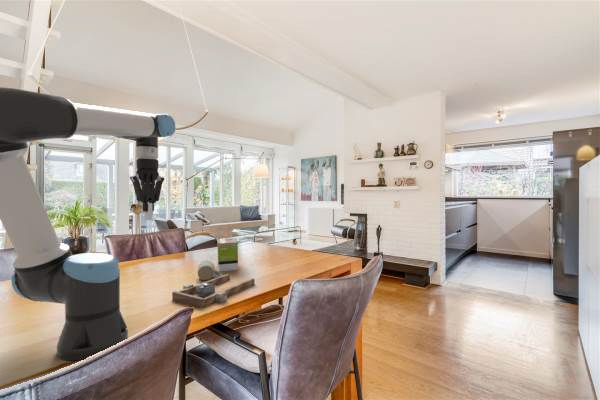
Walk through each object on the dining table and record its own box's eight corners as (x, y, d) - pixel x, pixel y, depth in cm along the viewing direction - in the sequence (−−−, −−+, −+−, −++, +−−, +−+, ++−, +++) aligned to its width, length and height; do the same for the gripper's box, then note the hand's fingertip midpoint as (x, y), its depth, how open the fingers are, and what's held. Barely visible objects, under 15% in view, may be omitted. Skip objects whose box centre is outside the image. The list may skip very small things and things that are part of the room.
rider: (204, 300, 107) (204, 288, 107) (192, 297, 111) (192, 285, 111) (219, 295, 113) (218, 282, 113) (206, 292, 117) (206, 280, 117)
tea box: (217, 264, 161) (217, 238, 160) (235, 263, 164) (235, 237, 163) (218, 271, 146) (217, 242, 146) (238, 270, 149) (238, 241, 149)
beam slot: (206, 309, 99) (206, 300, 99) (168, 298, 109) (168, 290, 109) (258, 285, 125) (258, 278, 125) (224, 278, 135) (223, 272, 135)
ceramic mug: (197, 282, 130) (197, 264, 130) (198, 276, 138) (198, 260, 137) (221, 280, 133) (222, 263, 133) (221, 275, 141) (221, 259, 141)
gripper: (136, 156, 104) (138, 221, 105) (168, 159, 116) (169, 218, 116) (124, 157, 108) (126, 221, 109) (156, 161, 119) (157, 218, 120)
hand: (148, 219), depth 113 cm, fingers closed
